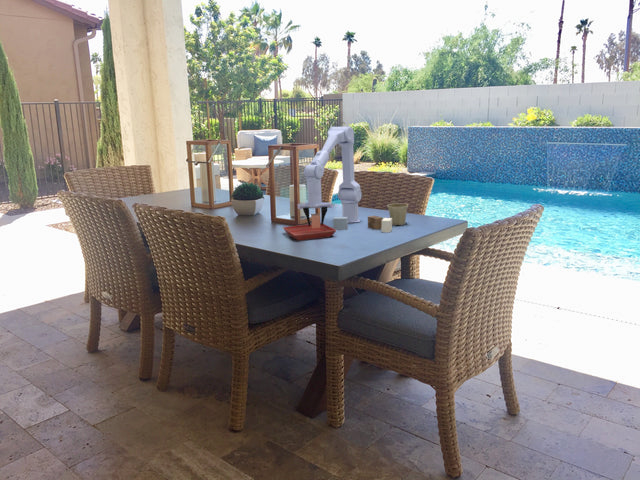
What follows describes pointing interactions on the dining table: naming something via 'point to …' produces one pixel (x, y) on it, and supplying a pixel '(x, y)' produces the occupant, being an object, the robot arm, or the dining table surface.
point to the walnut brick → (375, 222)
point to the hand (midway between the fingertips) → (315, 225)
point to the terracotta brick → (315, 220)
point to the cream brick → (386, 225)
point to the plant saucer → (309, 232)
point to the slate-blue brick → (340, 223)
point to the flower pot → (398, 213)
